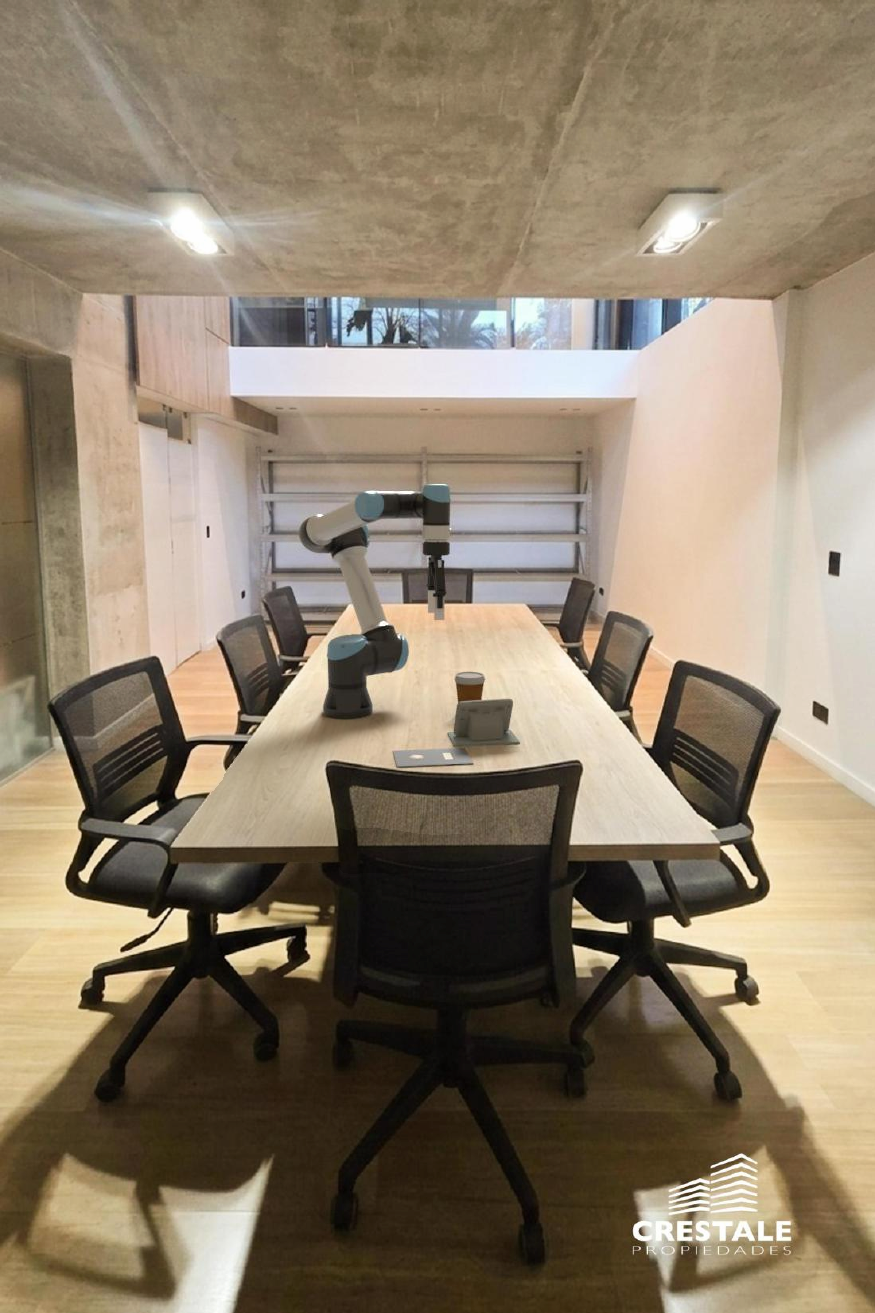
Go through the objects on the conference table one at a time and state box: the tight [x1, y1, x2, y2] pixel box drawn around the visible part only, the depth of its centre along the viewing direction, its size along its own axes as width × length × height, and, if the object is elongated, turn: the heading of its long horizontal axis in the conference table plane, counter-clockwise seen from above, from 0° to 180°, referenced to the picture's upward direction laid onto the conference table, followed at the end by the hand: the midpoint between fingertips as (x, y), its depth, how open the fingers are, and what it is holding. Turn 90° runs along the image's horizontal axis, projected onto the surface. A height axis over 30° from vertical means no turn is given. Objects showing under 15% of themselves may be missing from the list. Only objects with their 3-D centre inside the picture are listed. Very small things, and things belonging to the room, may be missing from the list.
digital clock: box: [453, 698, 514, 741], centre depth 210 cm, size 16×9×11 cm, turn 93°
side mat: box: [447, 729, 521, 747], centre depth 211 cm, size 18×11×1 cm, turn 98°
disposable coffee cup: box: [453, 671, 486, 704], centre depth 235 cm, size 10×10×12 cm
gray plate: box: [392, 747, 474, 768], centre depth 195 cm, size 19×12×1 cm, turn 98°
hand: (435, 616), depth 219 cm, fingers open, 13 cm apart
